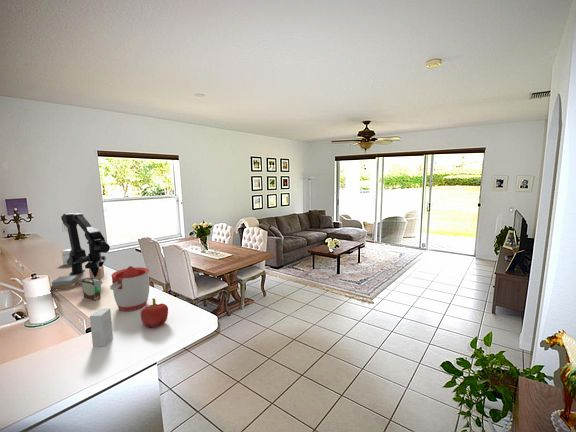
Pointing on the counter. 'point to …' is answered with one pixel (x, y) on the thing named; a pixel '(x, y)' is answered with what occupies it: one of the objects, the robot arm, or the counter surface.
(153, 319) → the vegetable
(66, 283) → the grey slab
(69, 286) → the walnut slab
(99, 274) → the terracotta block
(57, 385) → the counter surface
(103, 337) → the skincare box
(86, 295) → the food container
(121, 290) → the citrus juicer
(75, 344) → the counter surface
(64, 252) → the small box
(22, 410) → the counter surface
